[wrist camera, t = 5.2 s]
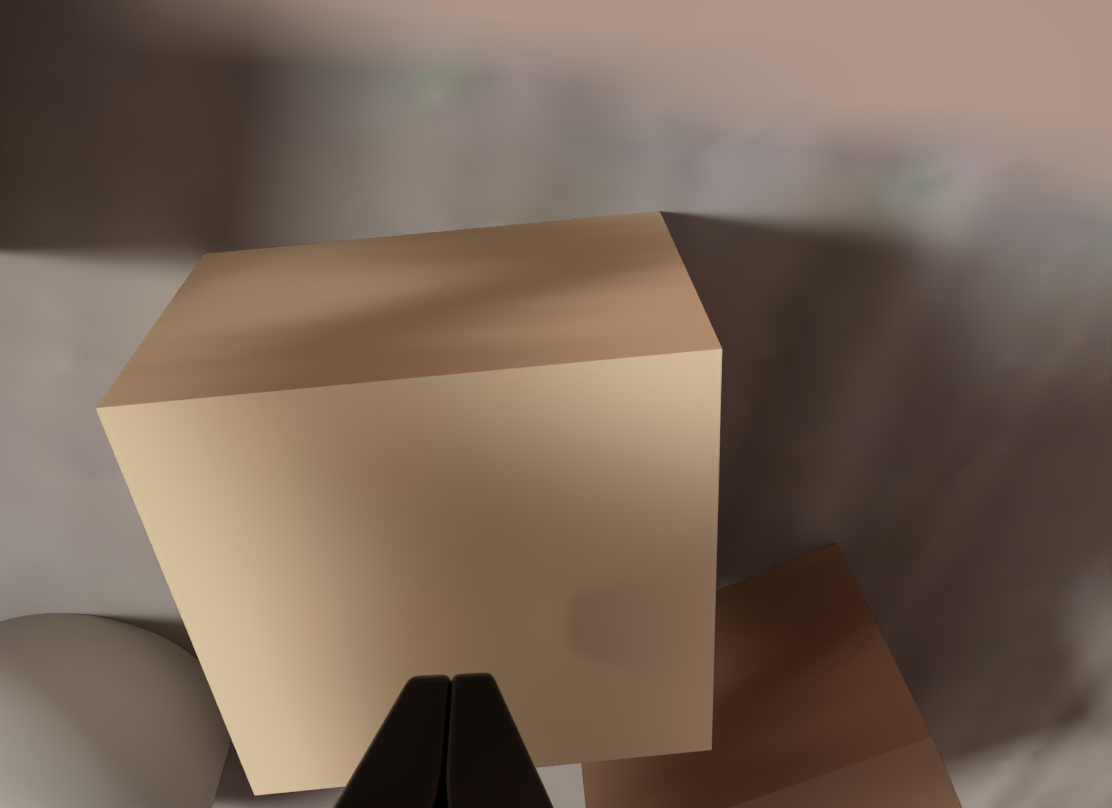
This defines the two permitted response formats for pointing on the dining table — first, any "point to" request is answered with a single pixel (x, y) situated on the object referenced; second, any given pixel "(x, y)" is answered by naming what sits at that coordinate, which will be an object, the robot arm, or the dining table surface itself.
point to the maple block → (437, 486)
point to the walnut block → (794, 709)
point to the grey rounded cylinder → (104, 717)
